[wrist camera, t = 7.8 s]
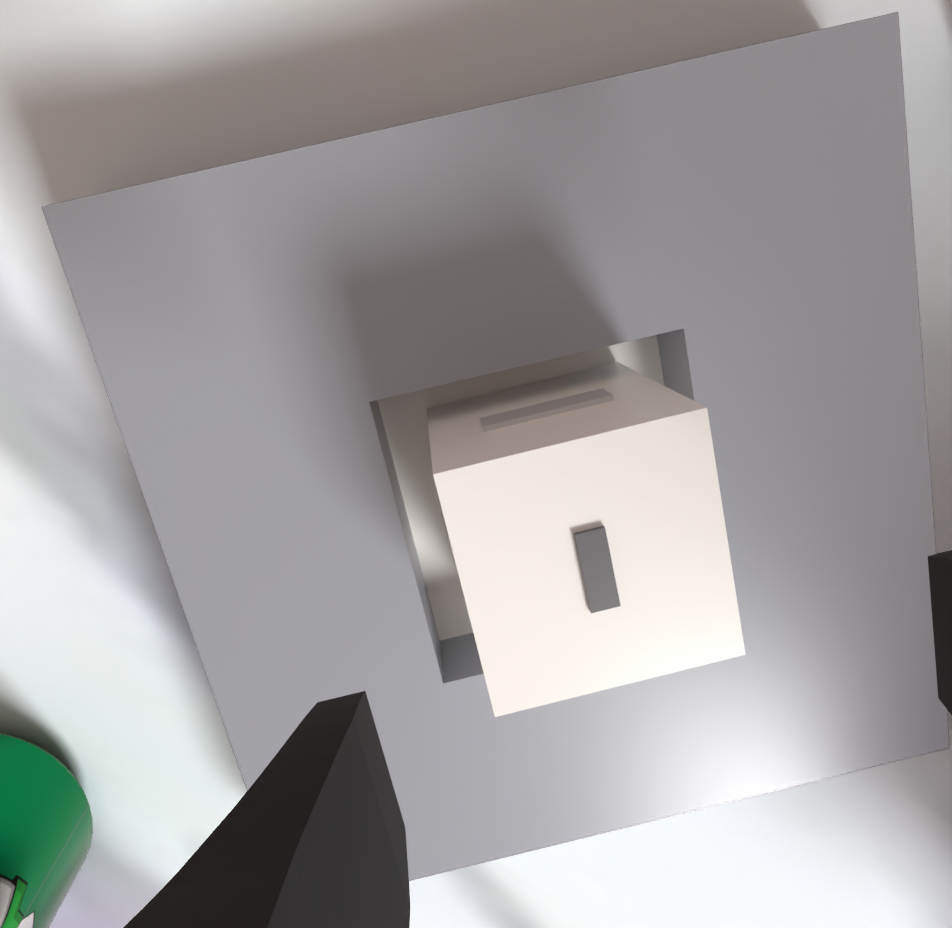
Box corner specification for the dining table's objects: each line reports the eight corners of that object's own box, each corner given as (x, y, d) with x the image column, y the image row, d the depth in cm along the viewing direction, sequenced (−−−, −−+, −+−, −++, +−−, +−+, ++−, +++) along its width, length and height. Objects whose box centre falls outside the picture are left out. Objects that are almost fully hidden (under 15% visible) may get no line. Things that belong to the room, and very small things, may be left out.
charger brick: (650, 542, 19) (747, 657, 14) (471, 586, 19) (495, 720, 13) (617, 357, 18) (708, 402, 12) (425, 404, 18) (431, 470, 12)
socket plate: (891, 694, 21) (949, 748, 19) (302, 837, 21) (289, 910, 19) (831, 45, 17) (897, 12, 15) (92, 213, 17) (41, 207, 14)
